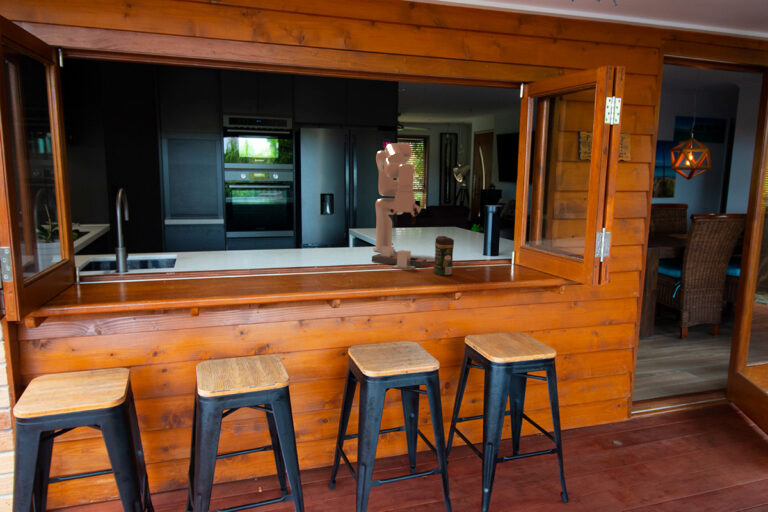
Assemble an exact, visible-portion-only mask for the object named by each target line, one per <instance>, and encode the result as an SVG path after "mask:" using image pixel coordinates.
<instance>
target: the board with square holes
mask: <svg viewBox="0 0 768 512" xmlns="http://www.w3.org/2000/svg"><path fill="white" fill-rule="evenodd" d="M427 261H428V259H427V258H421V257H412V256H411V261H410V266H414V267H415V268H422V267H425V266H427ZM371 262H372V263H380V264H388V265H389V264H390V265H397V255H394V257H391V258H388V257H381V253H376V254H374V255H371Z"/></svg>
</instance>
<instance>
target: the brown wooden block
mask: <svg viewBox="0 0 768 512" xmlns="http://www.w3.org/2000/svg"><path fill="white" fill-rule="evenodd" d="M380 254H381V257H388V258H391V257H394V254H395V247H394V246H392V247H389V246H384V247H381V252H380Z"/></svg>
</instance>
